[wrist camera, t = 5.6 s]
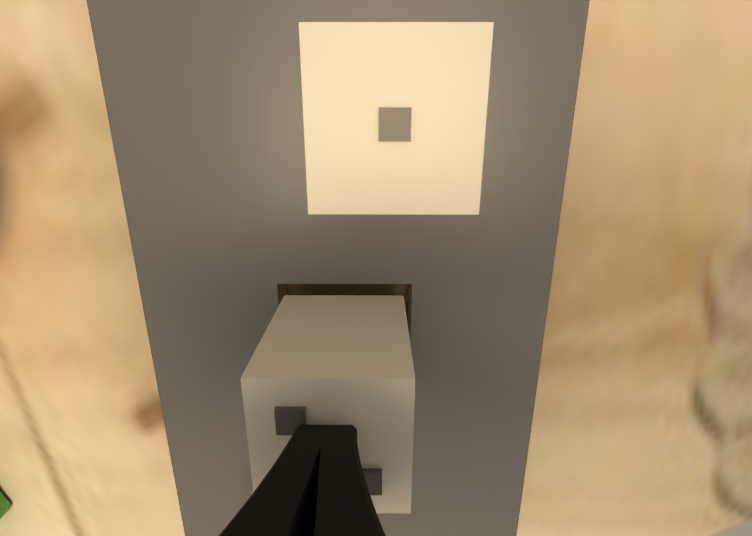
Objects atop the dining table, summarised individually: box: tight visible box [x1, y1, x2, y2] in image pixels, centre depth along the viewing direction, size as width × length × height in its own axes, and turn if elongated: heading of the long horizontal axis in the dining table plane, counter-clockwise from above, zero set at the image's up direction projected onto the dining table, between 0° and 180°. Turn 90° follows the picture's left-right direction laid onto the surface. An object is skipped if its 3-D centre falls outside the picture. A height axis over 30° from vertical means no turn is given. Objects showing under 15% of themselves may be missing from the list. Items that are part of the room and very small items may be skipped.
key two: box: [240, 295, 415, 514], centre depth 13 cm, size 4×4×5 cm
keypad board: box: [87, 0, 590, 536], centre depth 16 cm, size 14×22×2 cm, turn 0°
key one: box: [299, 22, 494, 215], centre depth 12 cm, size 4×4×5 cm
